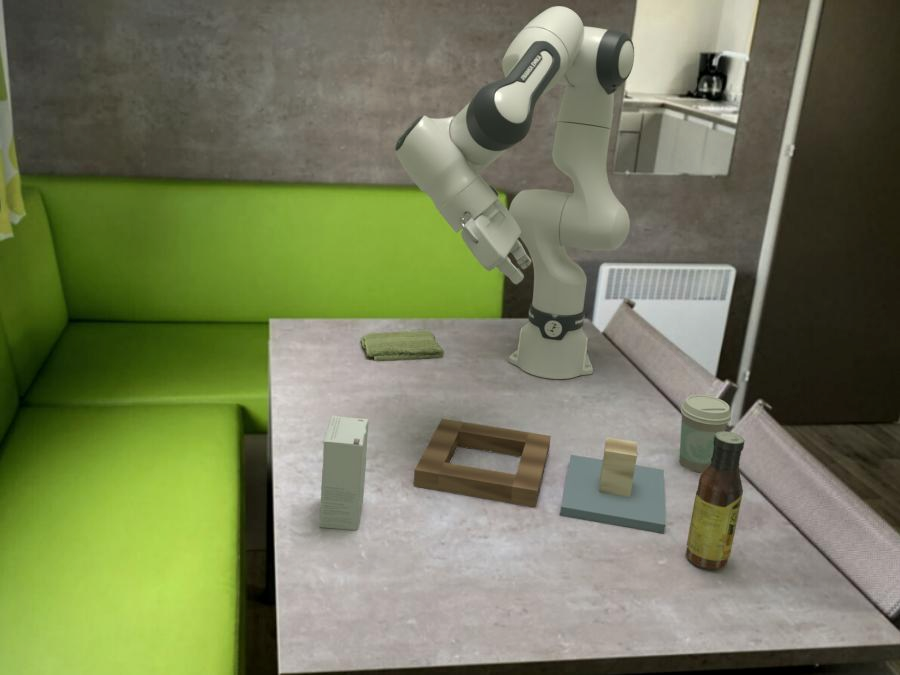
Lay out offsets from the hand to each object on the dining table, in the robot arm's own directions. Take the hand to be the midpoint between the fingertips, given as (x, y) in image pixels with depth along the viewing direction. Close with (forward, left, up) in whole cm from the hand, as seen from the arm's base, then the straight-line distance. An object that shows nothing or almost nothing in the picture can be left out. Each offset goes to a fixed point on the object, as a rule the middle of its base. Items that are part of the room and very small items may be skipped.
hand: (524, 273), depth 142 cm
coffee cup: (-8, +33, -34) cm, 48 cm away
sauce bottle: (+22, +33, -34) cm, 52 cm away
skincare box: (+28, -21, -34) cm, 48 cm away
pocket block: (+6, -3, -33) cm, 34 cm away
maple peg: (+8, +19, -32) cm, 38 cm away
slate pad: (+8, +19, -33) cm, 39 cm away
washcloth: (-42, -30, -34) cm, 62 cm away
